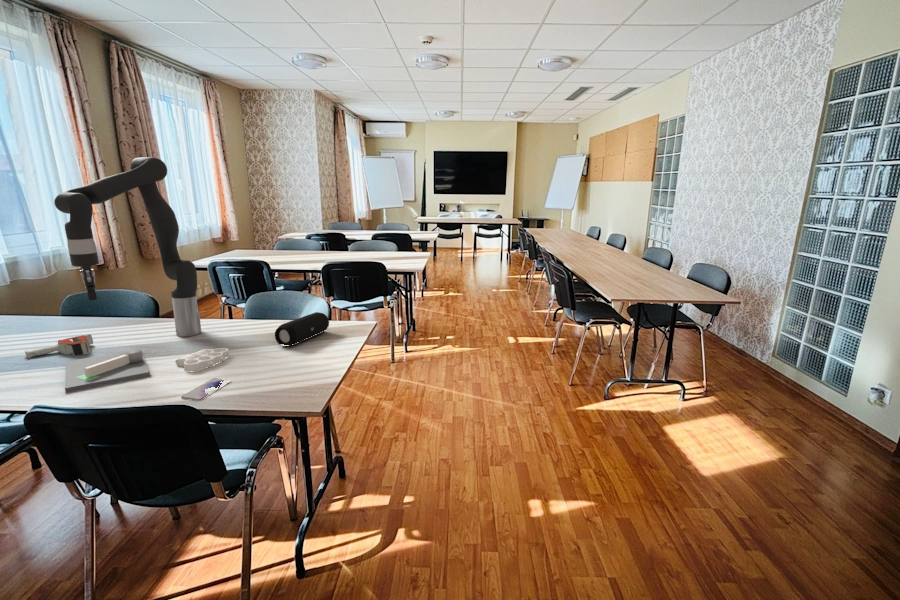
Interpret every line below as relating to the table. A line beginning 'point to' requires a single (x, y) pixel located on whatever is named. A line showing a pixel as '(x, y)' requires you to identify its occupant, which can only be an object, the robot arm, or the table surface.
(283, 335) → the portable speaker
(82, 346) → the tape dispenser
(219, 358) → the grey paint palette
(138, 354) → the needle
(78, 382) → the dial plate
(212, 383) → the smartphone
